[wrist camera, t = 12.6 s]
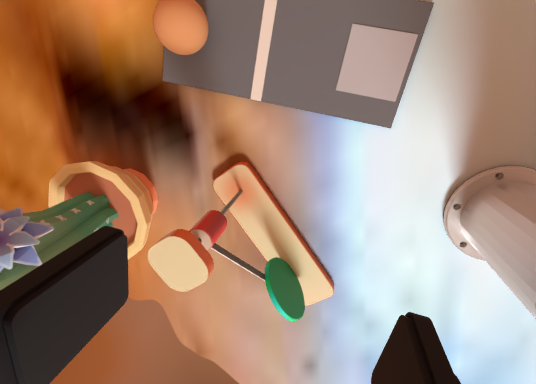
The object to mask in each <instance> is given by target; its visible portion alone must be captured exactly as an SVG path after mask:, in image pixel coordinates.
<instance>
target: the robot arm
mask: <svg viewBox="0 0 536 384" xmlns="http://www.w3.org/2000/svg"><path fill="white" fill-rule="evenodd" d="M496 174H497V175H496ZM495 175H496V176H495ZM454 204H456V205H454ZM453 205H454V206H453ZM444 226H445V230H446V232H447V235H448V237H449V238H450V239H451V241H452V242H453V244H454V245H455V246H456V247H457V248H458V249H459V250H461V251H462V252H464V253H465V254H467V255H469V256H471V257H474V258H477V259H480V260H484V261H486V262H487V263H488V264H489V265H490V267H491V268H492V269H493V270H494V271H495V272H496V274H497V275H498V276H499V277H500V278H501V279H502V280H503V282H504V283H505V284H506V285H507V286H508V287H509V289H510V290H511V291H512V292H513V293H514V294H515V295H516V297H517V298H518V299H519V300H520V301H521V302H522V304H523V305H524V306H525V307H526V308H527V309H528V310H529V312H530V313H531V314H532V315H533V316H534V317H535V319H536V170H534V169H531V168H527V167H522V166H504V167H497V168H493V169H489V170H486V171H483V172H481V173H479V174H476V175H474V176H473V177H471V178H470V179H468V180H467V181H465V182H464V183H463V184H462V185H461V186H459V187H458V188H457V189H456V191H455V192H454V193H453V194H452V196H451V197H450V199H449V201H448V203H447V205H446V208H445V212H444ZM127 298H128V242H127V236H126V235H124V232H123V230H121V229H117V228H114V227H110V226H103V227H101V228H100V229H98V230H96V231H95V232H93V233H92V234H90V235H88V236H87V237H85V238H84V239H82V240H80V241H79V242H77V243H76V244H74V245H72V246H71V247H69V248H68V249H66V250H64V251H63V252H61V253H60V254H58V255H56V256H55V257H53V258H51V259H50V260H48V261H47V262H45V263H43V264H42V265H40V266H39V267H37V268H35V269H34V270H32V271H31V272H29V273H27V274H26V275H24V276H23V277H21V278H19V279H18V280H16V281H15V282H13V283H11V284H10V285H8V286H7V287H5V288H3V289H2V290H0V384H49V383H50V382H51V381H52V380H53V379H54V378H55V377H56V376H57V375H58V374H59V373H60V372H61V371H62V369H64V368H65V366H66V365H67V364H68V363H69V362H70V361H71V360H72V359H73V358H74V357H75V356H76V355H77V354H78V353H79V352H80V350H82V348H83V347H84V346H85V345H86V344H87V343H88V342H89V341H90V340H91V339H92V338H93V337H94V336H95V335H96V334H97V333H98V331H99V330H100V329H101V328H102V327H103V326H104V325H105V324H106V323H107V322H108V321H109V320H110V319H111V318H112V317H113V316H114V314H115V313H116V312H117V311H118V310H119V309H120V308H121V307H122V306H123V305H124V303H125V302H126V300H127ZM371 384H461V383H460V381H459V379H458V378H457V376H456V375H455V374H454V373H453V371H452V368H451V366H450V363H449V361H448V359H447V356H446V354H445V352H444V349H443V347H442V344H441V342H440V340H439V337H438V335H437V333H436V330H435V328H434V325H433V323H432V321H431V319H430V318H428V317H425V316H422V315H418V314H415V313H411V312H408V313H407V314H406V315H405V316H404V315H401V316H400V317H399V318H398V320H397V322H396V325H395V327H394V329H393V331H392V333H391V335H390V337H389V339H388V341H387V343H386V345H385V347H384V350H383V352H382V354H381V356H380V358H379V360H378V362H377V364H376V366H375V368H374V370H373V373H372V378H371Z"/></svg>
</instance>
